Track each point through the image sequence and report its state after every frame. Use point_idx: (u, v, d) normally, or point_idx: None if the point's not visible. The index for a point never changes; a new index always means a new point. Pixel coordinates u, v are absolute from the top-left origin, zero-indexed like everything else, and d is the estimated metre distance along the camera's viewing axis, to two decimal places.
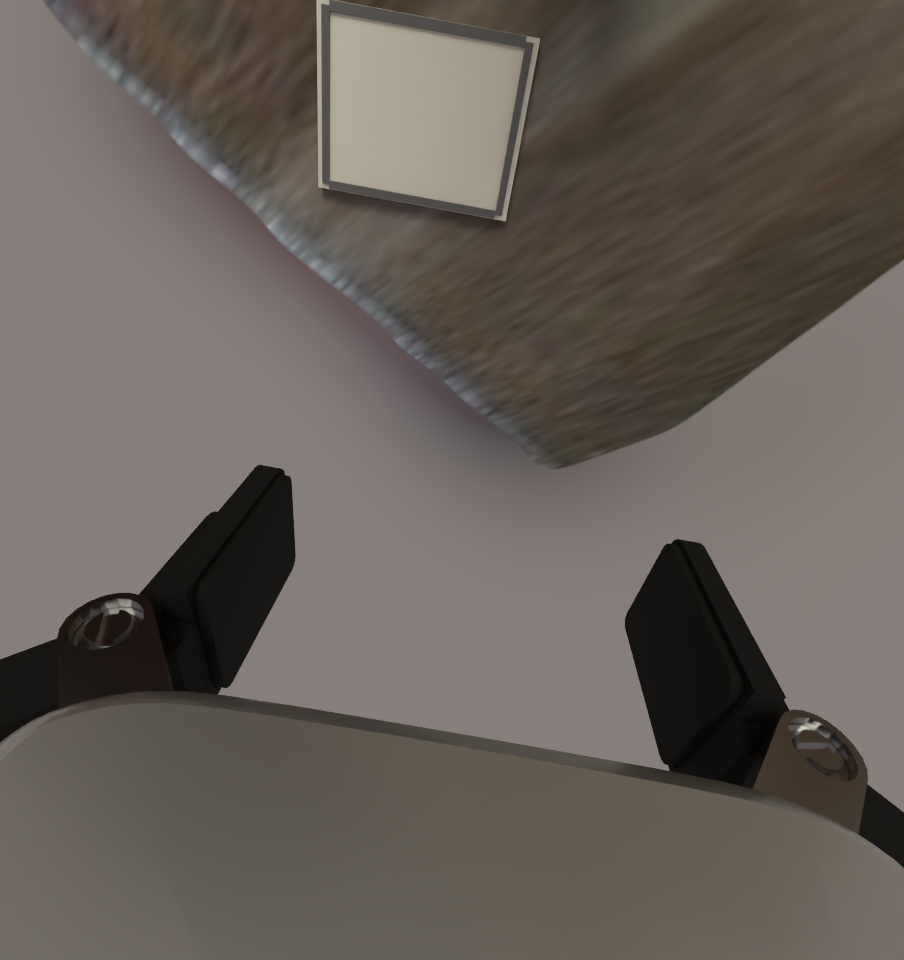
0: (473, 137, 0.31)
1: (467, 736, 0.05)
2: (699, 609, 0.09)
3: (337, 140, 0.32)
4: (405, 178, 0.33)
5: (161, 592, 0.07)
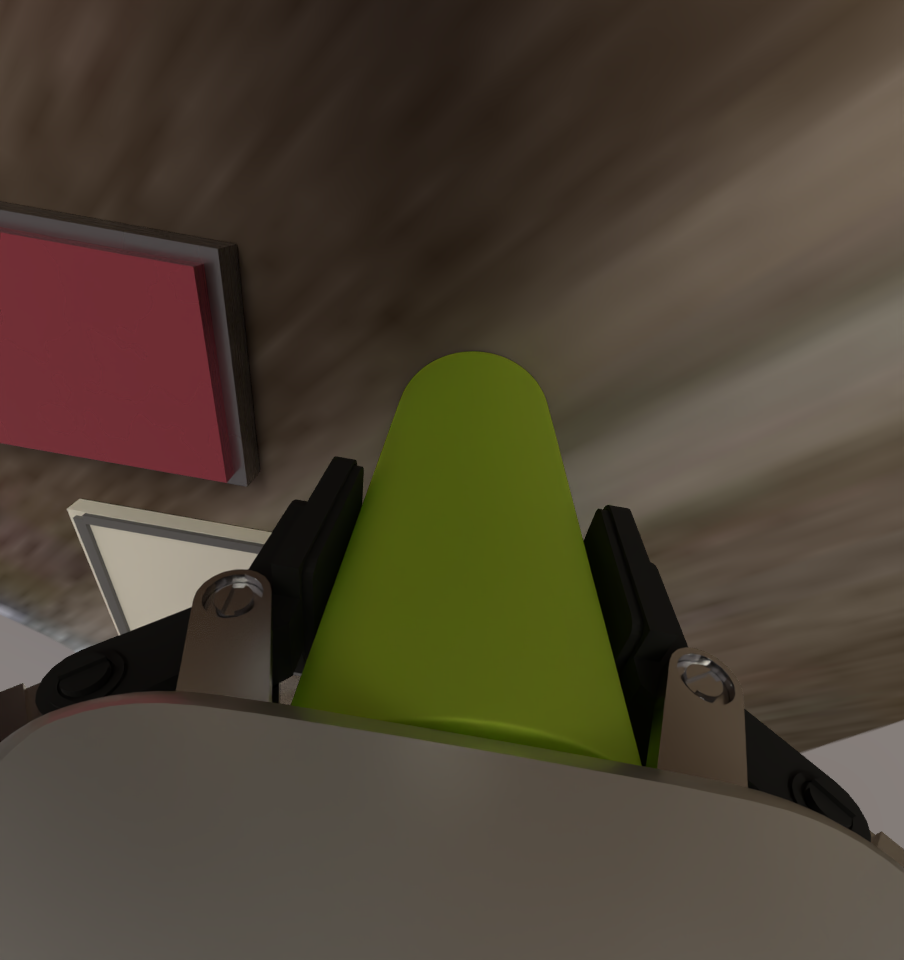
0: None
1: (467, 736, 0.05)
2: (615, 563, 0.10)
3: (132, 612, 0.25)
4: None
5: (276, 568, 0.08)
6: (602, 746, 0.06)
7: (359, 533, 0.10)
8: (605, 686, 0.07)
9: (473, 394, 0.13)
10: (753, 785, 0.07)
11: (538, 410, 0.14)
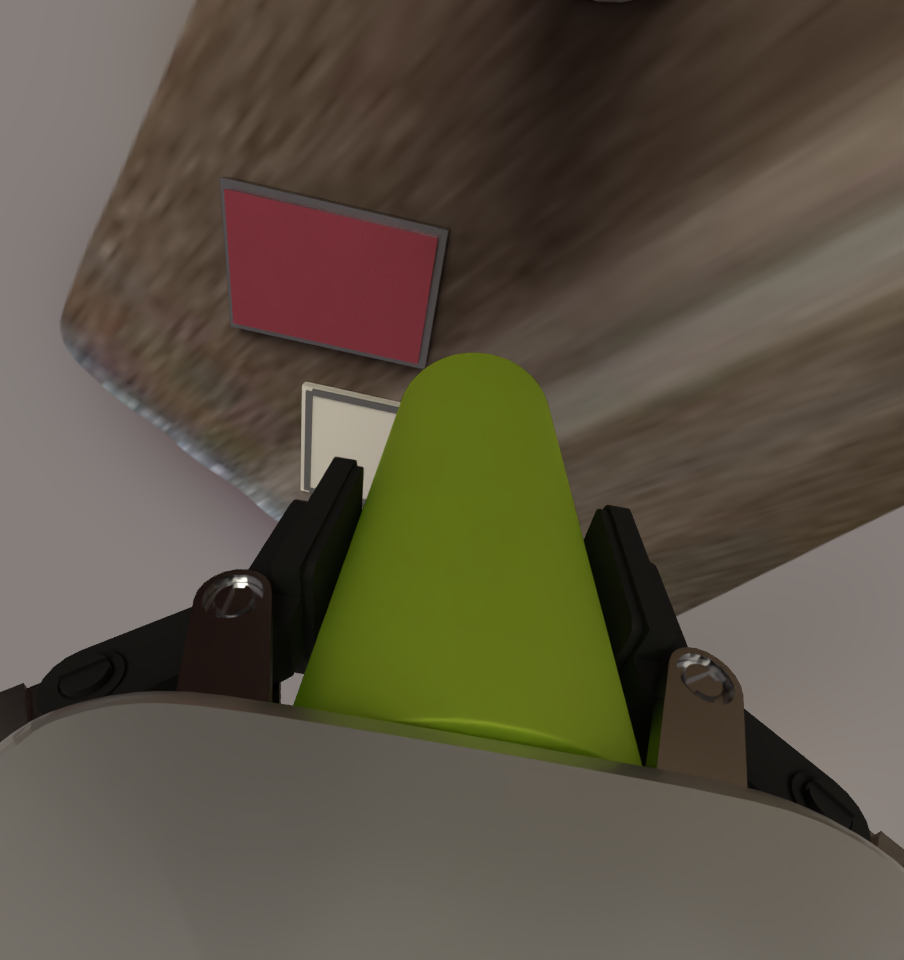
0: None
1: (467, 736, 0.05)
2: (615, 563, 0.10)
3: (317, 465, 0.39)
4: None
5: (276, 568, 0.08)
6: (603, 747, 0.06)
7: (361, 534, 0.10)
8: (606, 687, 0.07)
9: (474, 395, 0.13)
10: (752, 785, 0.07)
11: (539, 411, 0.14)
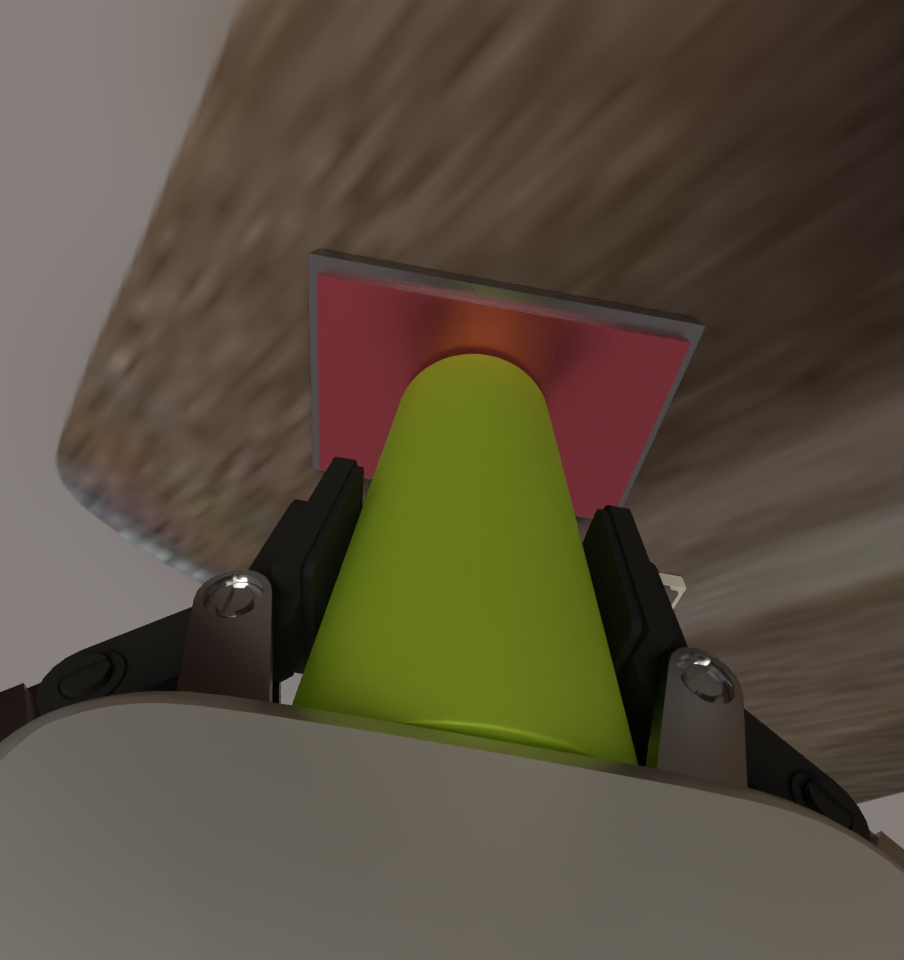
0: None
1: (467, 736, 0.05)
2: (615, 563, 0.10)
3: None
4: None
5: (276, 568, 0.08)
6: (599, 749, 0.06)
7: (359, 536, 0.10)
8: (603, 689, 0.07)
9: (473, 397, 0.13)
10: (752, 785, 0.07)
11: (538, 413, 0.14)
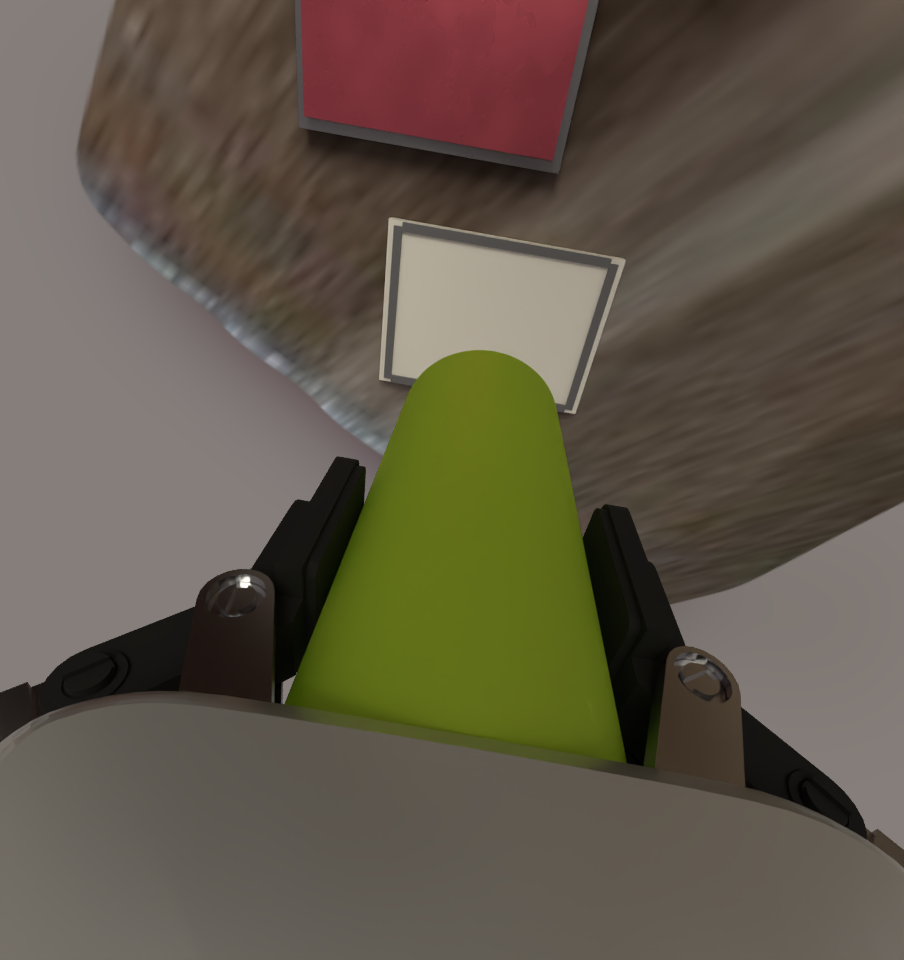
0: (547, 342, 0.30)
1: (467, 736, 0.05)
2: (613, 562, 0.10)
3: (402, 341, 0.31)
4: None
5: (279, 568, 0.08)
6: None
7: (357, 536, 0.10)
8: (594, 701, 0.07)
9: (477, 395, 0.13)
10: (749, 783, 0.07)
11: (543, 411, 0.14)
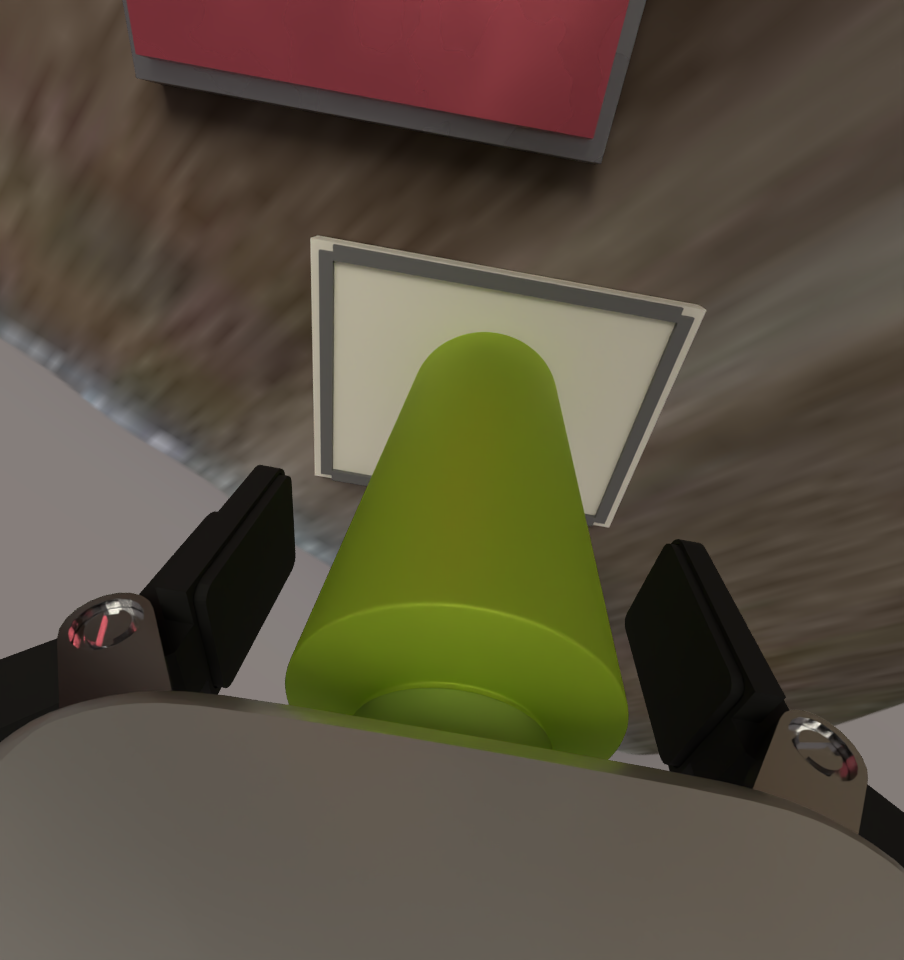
0: (570, 430, 0.19)
1: (467, 736, 0.05)
2: (699, 609, 0.09)
3: (345, 423, 0.20)
4: None
5: (161, 592, 0.07)
6: (579, 638, 0.07)
7: (373, 481, 0.11)
8: (588, 599, 0.08)
9: (482, 366, 0.14)
10: None
11: (544, 384, 0.15)
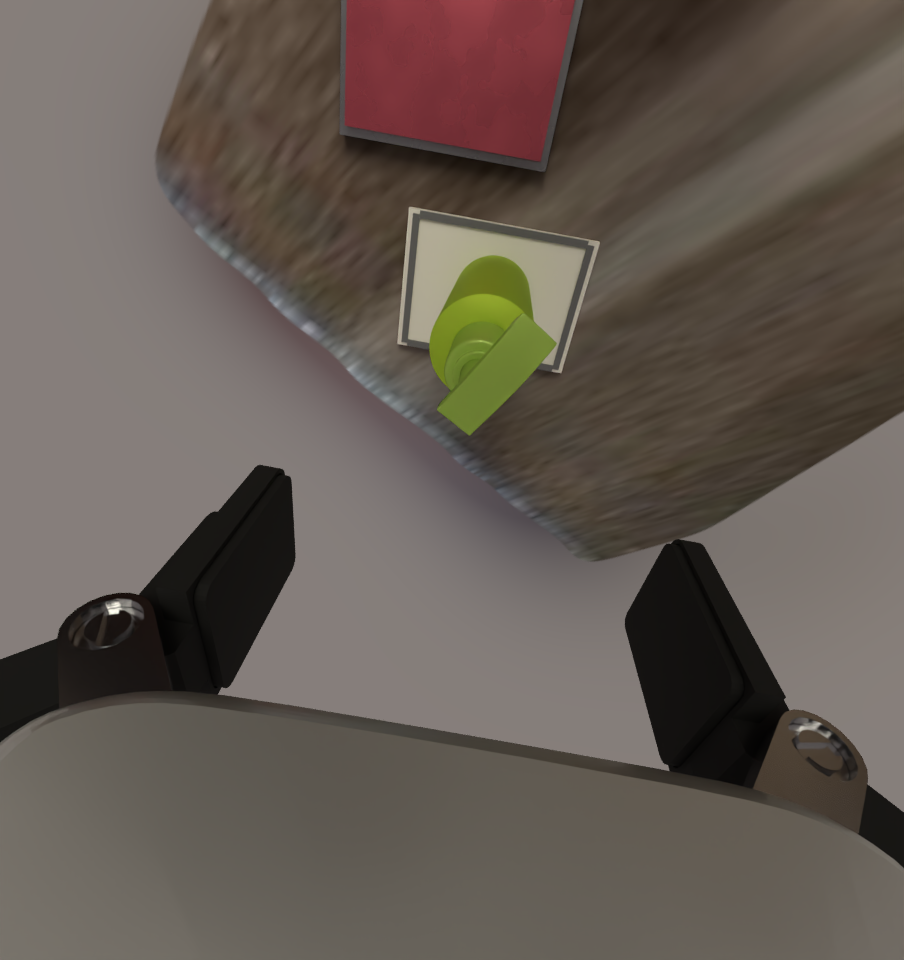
0: (537, 311, 0.36)
1: (467, 736, 0.05)
2: (699, 609, 0.09)
3: (417, 310, 0.37)
4: None
5: (161, 592, 0.07)
6: (519, 307, 0.24)
7: (449, 296, 0.28)
8: (524, 308, 0.25)
9: (491, 263, 0.31)
10: None
11: (520, 274, 0.32)
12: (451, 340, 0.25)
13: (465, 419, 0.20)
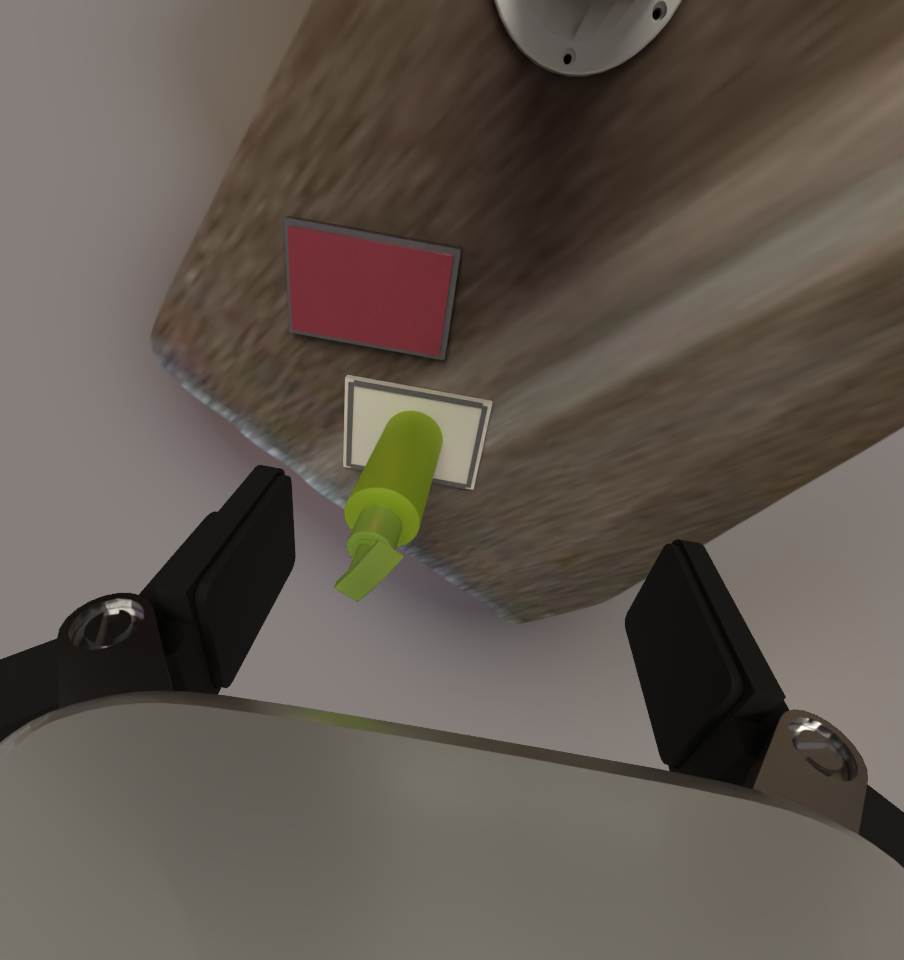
0: (449, 447, 0.46)
1: (467, 736, 0.05)
2: (699, 609, 0.09)
3: (357, 444, 0.47)
4: None
5: (161, 592, 0.07)
6: (403, 495, 0.34)
7: (365, 466, 0.38)
8: (410, 490, 0.35)
9: (403, 428, 0.41)
10: None
11: (427, 433, 0.42)
12: (358, 514, 0.35)
13: (352, 593, 0.30)
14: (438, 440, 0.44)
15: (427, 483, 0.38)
